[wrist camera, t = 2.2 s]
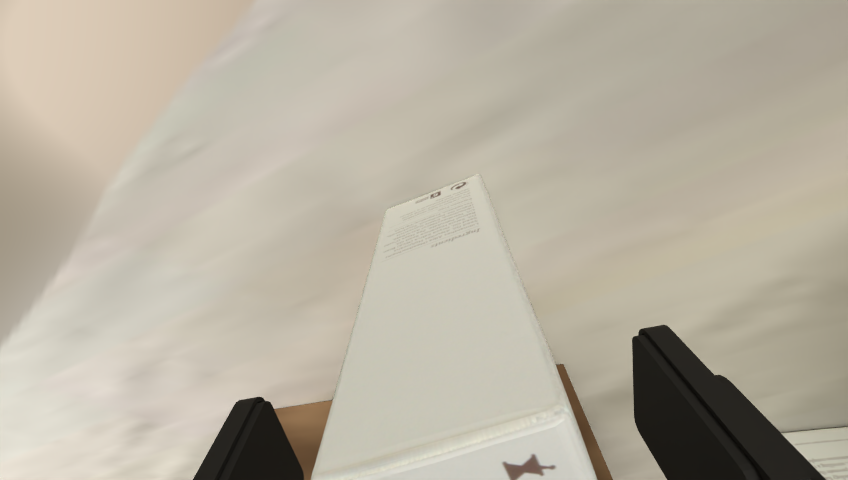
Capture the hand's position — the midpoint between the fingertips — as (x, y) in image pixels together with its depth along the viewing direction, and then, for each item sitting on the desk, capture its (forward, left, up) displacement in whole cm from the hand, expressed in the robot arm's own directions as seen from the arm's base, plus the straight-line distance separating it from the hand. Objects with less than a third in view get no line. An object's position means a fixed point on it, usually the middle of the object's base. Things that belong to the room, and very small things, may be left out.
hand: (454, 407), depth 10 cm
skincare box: (-1, 0, -8) cm, 8 cm away
